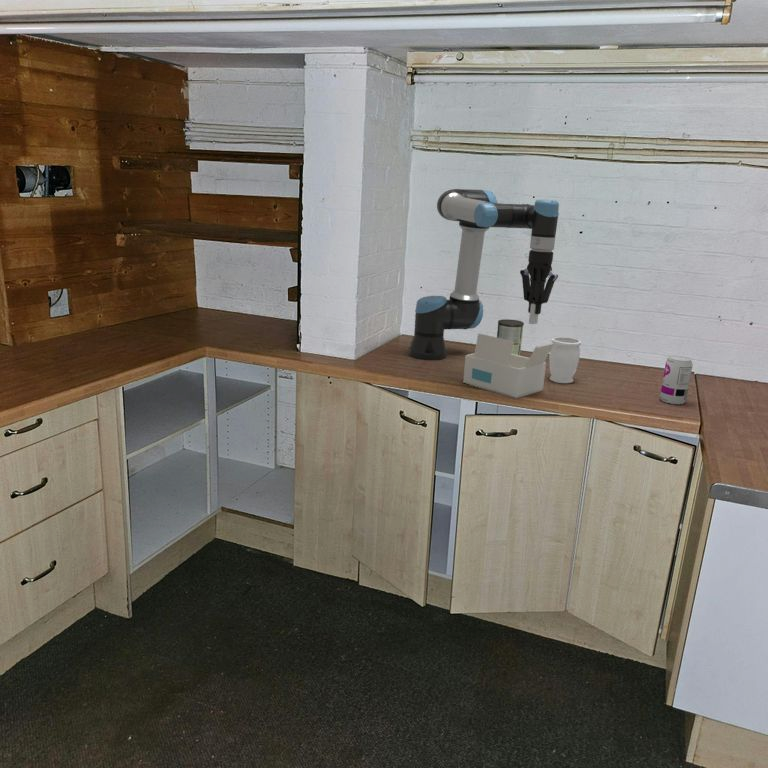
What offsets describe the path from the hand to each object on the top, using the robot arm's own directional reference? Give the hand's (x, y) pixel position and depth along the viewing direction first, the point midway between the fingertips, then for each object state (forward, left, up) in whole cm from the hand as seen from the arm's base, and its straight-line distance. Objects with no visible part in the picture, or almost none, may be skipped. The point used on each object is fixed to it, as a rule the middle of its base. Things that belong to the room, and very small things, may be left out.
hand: (532, 323), depth 227 cm
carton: (-9, 0, -24) cm, 26 cm away
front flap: (-9, -8, -10) cm, 15 cm away
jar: (-1, +25, -24) cm, 35 cm away
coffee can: (-35, +40, -24) cm, 58 cm away
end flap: (+4, 0, -10) cm, 11 cm away
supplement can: (+36, +34, -24) cm, 55 cm away
